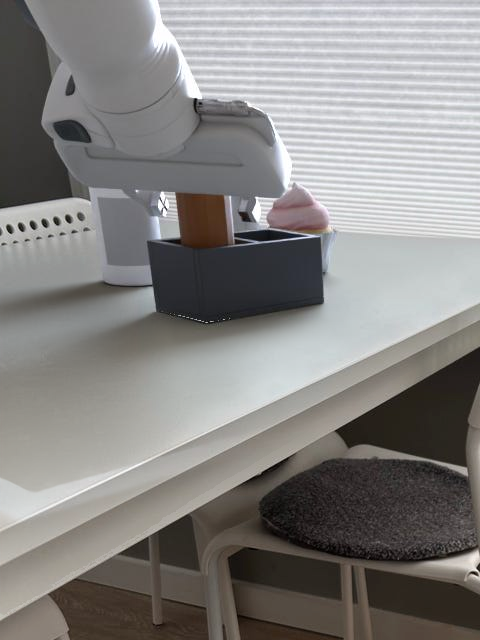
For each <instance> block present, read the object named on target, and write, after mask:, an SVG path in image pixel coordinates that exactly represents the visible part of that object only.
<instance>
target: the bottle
mask: <svg viewBox="0 0 480 640" xmlns="http://www.w3.org/2000/svg"><path fill="white" fill-rule="evenodd" d="M174 195H175V205H176V211H177V220H178V228H179V237H180V238H181V245H183V246H188V247H193V248H199V249H203V248H212V247H221V246H229V245H235V241H234V230H233V219H232V208H231V197H230V196H228V195H210V194H193V193H175V192H174Z"/></svg>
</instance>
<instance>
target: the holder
mask: <svg viewBox="0 0 480 640" xmlns="http://www.w3.org/2000/svg"><path fill="white" fill-rule="evenodd" d="M234 241H235V245H229V246H221V247H212V248H203V249H199V248H193V247H188V246H183V245H181V238H180V236H178V237H166V238H161V239H156V240H147V247H148V254H149V262H150V269H151V277H152V284H153V285H152V290H153V298H154V304H155V311H156V312H160V313H163V314H167V315H171V316H174V317H179V318H183V319H186V320H190V321H193V322H198V323H202V324H206V325H207V324H214V323H219V322H224V321H230V320H235V319H241V318H246V317H251V316H257V315H263V314H268V313H269V314H270V313H275V312H279V311H287V310H290V309H296V308H301V307H302V308H303V307H307V306H312V305H313V306H314V305H318V304H324V303H325V297H324V296H325V294H324V275H323V273H324V272H323V270H322V250H321V237H320V236H315V235H309V234H303V233H297V232H291V231H284V230H278V229H272V228H266V227H264V229H263V228H260V229H255V230H245V231H235V232H234ZM158 310H159V311H158ZM162 311H163V312H162ZM166 312H167V313H166ZM170 313H171V314H170ZM174 314H175V315H174ZM178 315H181V316H178ZM182 316H185V317H182ZM186 317H189V318H186ZM190 318H193V319H197V320H201V321H204V322H201V321H197V320H193V319H190ZM229 318H230V319H229ZM223 319H225V320H223ZM218 320H219V321H218ZM210 321H214V322H210ZM205 322H208V323H205Z"/></svg>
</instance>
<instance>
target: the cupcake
mask: <svg viewBox="0 0 480 640" xmlns="http://www.w3.org/2000/svg"><path fill="white" fill-rule="evenodd" d="M265 219H266V222H267V224H268V225H269V226H265V227H264V228H272V229H278V230H284V231H291V232H297V233H303V234H309V235H315V236H320V237H321V250H322V270H323V273H326V272H328V270H329V266H330V260H331V255H332V250H333V246H334V243H335V240H336V239H337V236H338V233H339V231H340V229H336V228H335V227H332V226H329V224H330V214H329V211H328V208H326V207H325V205H323V204H322V203H321V202H319V201H317V200H315V198H314V196H313V195H312V193H311V192H310V191H309V190H308V189H307V188H305V187H304V186H303V185H301V184H298V183H297V182H296V181H293V182H292V186H291V189H290V190H288V191H287V192H284V193H283V195H282V196H281V197H280V198H275V200H274V201H273V203H272V208H271V209H270V210H269V211H268V212H267V213H266V217H265ZM264 228H262V229H264Z"/></svg>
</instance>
